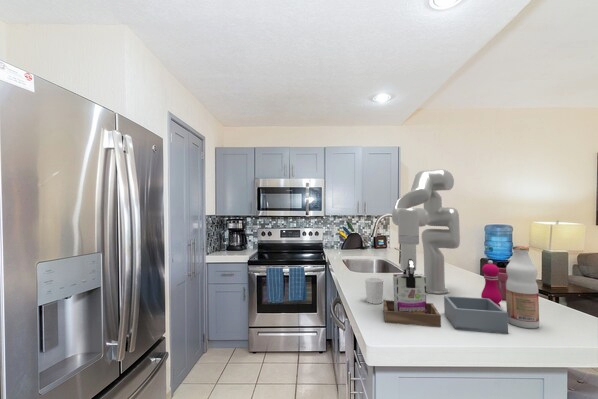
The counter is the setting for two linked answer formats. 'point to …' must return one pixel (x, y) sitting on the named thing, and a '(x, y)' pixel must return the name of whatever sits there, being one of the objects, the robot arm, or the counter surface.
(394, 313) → the wooden rectangular frame
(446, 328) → the counter surface
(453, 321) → the slate bin
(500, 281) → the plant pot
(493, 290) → the pepper mill
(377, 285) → the white cup
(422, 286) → the snack bar box
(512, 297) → the fruit juice
